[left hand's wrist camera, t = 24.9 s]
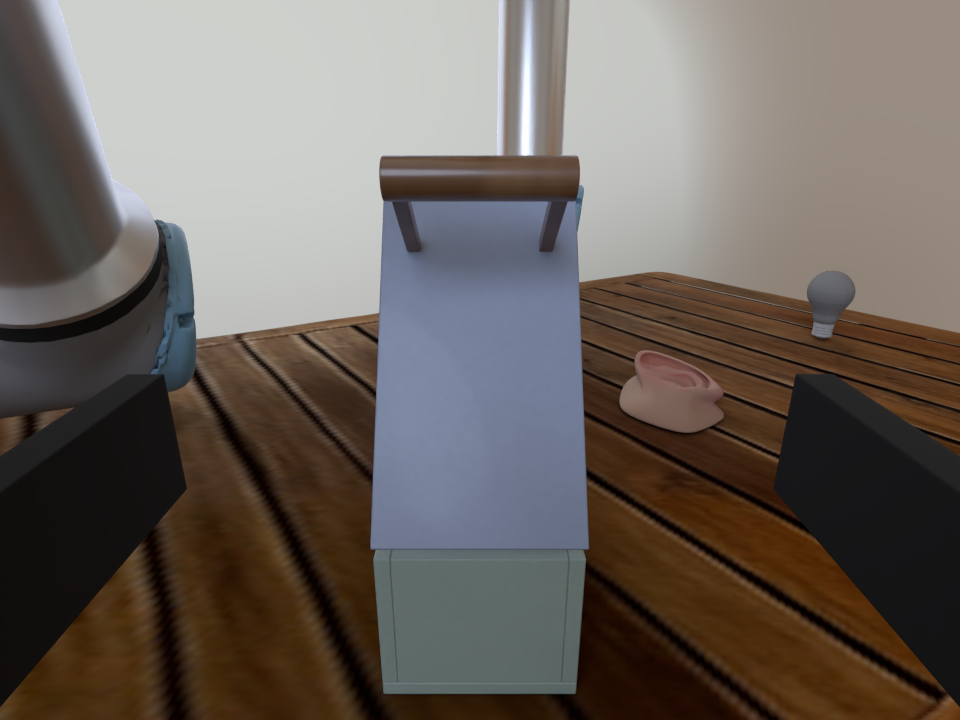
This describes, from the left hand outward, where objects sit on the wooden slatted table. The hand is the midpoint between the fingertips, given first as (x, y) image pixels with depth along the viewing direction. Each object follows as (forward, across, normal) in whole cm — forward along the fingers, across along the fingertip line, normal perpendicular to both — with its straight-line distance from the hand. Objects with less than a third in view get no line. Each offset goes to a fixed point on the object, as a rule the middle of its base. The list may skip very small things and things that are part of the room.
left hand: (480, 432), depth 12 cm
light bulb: (+72, +51, -21) cm, 90 cm away
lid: (+17, 0, -5) cm, 18 cm away
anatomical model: (+48, +21, -21) cm, 56 cm away
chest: (+20, 0, -21) cm, 29 cm away
